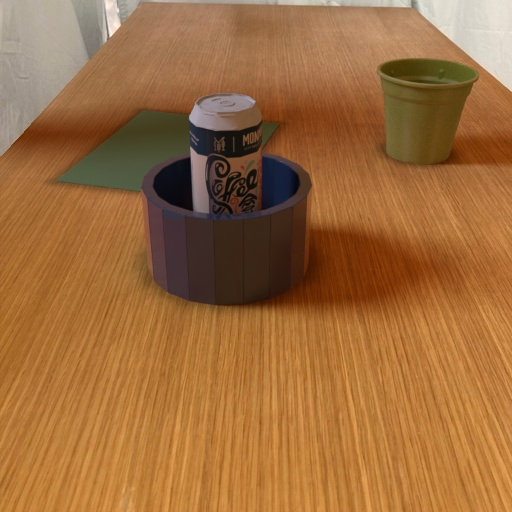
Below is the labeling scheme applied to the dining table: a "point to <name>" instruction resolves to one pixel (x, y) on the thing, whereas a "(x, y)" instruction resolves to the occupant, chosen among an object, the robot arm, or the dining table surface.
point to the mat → (138, 151)
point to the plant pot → (423, 106)
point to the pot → (227, 235)
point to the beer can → (226, 154)
